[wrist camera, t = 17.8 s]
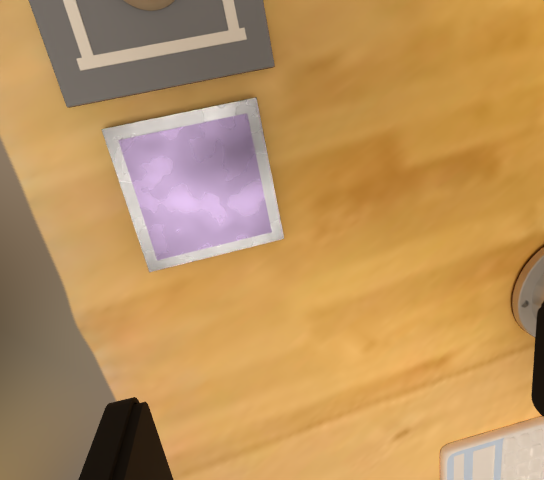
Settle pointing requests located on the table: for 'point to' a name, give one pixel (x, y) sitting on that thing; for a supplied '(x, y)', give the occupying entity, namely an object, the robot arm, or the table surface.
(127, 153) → the ink pad
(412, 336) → the table surface
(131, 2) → the candle
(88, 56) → the marked board
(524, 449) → the calculator
